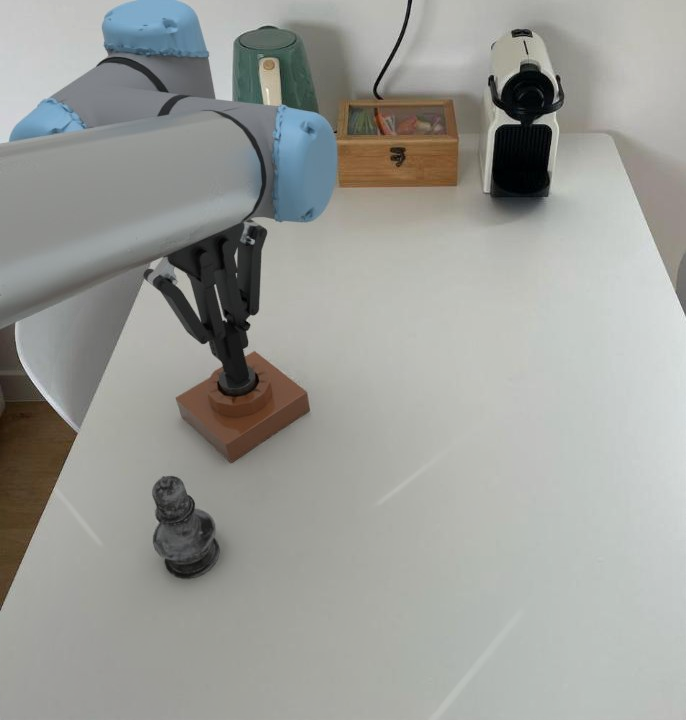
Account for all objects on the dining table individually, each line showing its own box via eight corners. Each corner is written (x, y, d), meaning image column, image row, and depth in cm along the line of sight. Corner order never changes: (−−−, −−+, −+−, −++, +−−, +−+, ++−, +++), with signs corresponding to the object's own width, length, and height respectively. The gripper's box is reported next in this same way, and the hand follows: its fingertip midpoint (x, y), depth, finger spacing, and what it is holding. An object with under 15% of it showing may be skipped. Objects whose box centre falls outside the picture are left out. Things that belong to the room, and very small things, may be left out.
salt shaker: (149, 558, 79) (115, 480, 71) (196, 520, 82) (169, 441, 74) (187, 592, 76) (156, 515, 68) (234, 551, 79) (210, 472, 71)
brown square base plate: (231, 463, 88) (222, 431, 84) (181, 416, 93) (171, 385, 90) (310, 410, 93) (305, 379, 90) (258, 368, 98) (251, 337, 95)
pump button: (235, 407, 88) (232, 394, 87) (214, 389, 90) (211, 376, 89) (265, 389, 90) (262, 375, 89) (244, 371, 92) (241, 358, 91)
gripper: (226, 145, 78) (264, 330, 94) (104, 197, 72) (167, 387, 88) (273, 171, 74) (304, 361, 90) (148, 230, 68) (205, 422, 84)
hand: (236, 373), depth 89 cm, fingers closed
